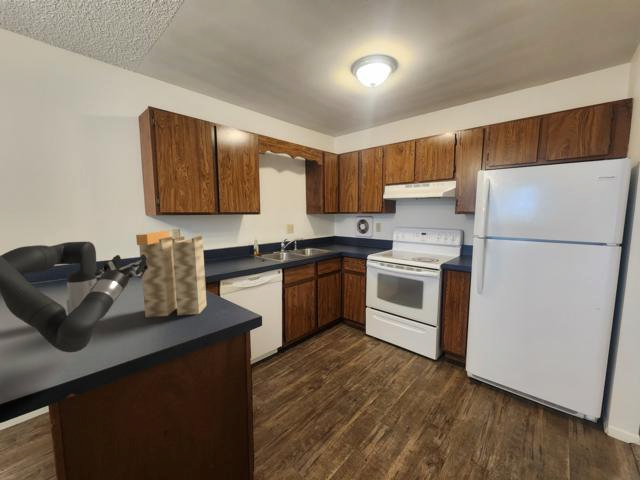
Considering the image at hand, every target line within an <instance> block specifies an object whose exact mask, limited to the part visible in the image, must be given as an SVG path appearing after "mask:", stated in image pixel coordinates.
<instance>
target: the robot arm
mask: <svg viewBox="0 0 640 480" xmlns="http://www.w3.org/2000/svg"><path fill="white" fill-rule="evenodd" d="M96 250H97V249H96V247H95V245H94V244H93V242H91V241H68V242H62V243H57V244H55V245H51V246H49V245H44V244H43V245H42V244H40V245H30V246H29V245H28V246H27V245H26V246H21V247H16V248H14V249H12V250H11V249H10V250H8V251H6V252H5V253H3V254H0V295H1V296H2V299H3V301H4V304H5V305H6V308H7V309H8V310H9V311H10V313H12V315H14V316H15V318H17V319H19V320H20V321H22V322H24V323H25V324H27V325H29V326H30V327H32V328H34V329H35V330H37V331H38V333H40V335H41V337H43V338H44V339H45V340H46V341H47V342H48V343H50V345H52V346H53V347H54V348H55V349H56V350H59V351H61V352H64V353H77V352H79V351H81V350H83V349H85V348H86V347H88V345H89V343H90V341H91V338H92V335H93V332H94V330H95V328H96V325H97V324H98V323H99V321H100V320H101V319H103V318H104V317H105V316H106V315H107V313H108V312H109V310H110V309H111V307H112V306H113V305H114V303H115V302H116V301H117V300H118V299H119V297H120V296H121V294H122V293H123V291H124V290H125V288H126V287H127V286H128V283H129V280H130V279H131V278H132V277H137V278H138V279H142V275H143V274H144V273H145V271H146V270H147V268H148V266H147V263H146V260H147V258H146V256H145V255H144V254H143V255H141V257H140V256H139V258H138V260H137V261H136V262H131V263H129V264H124V265H119V263H120V262H121V260H122V257H121V256H120V254H116V255H115V256H114V257H112V259H111V260H110V261H108V262H105V261H104V262H102V263H101V264H100V265H99V267H98V266H97V251H96ZM56 265H79V269H78V270H76V271H73V272H71V273H68V274H66V278H65V279H66V286H67V293H68V294H67V295H68V299H66V308H65V307H64V306H63V305H62V304H60V303H59V302H57V301H55V299H52V298H51V297H50V296H47V295H46V294H44V293H43V292H41V291H40V290H39V289H37V287H35V286H33V285H32V284H31V283H30V282H29V281H28V280H27V279H26V278H25V277H24V276H27V275H33V274H38V273H43V272H45V271H49V270H51V269H53V268H54V267H55V266H56ZM97 267H98V268H97ZM131 268H132V269H131ZM66 310H67V311H66Z"/></svg>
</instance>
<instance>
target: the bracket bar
mask: <svg viewBox="0 0 640 480" xmlns="http://www.w3.org/2000/svg"><path fill="white" fill-rule="evenodd" d="M167 237H171V233H170V231H169V230H163V231H162V230H160V231H159V230H158V231H155V232H154V231H153V232H147V233H141V234H140V233H139V234H136V235H135V238H136V245H137V246H139V245H149V244H153V243H158V242H159V239H163V238H167Z"/></svg>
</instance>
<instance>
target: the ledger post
mask: <svg viewBox="0 0 640 480" xmlns="http://www.w3.org/2000/svg"><path fill="white" fill-rule="evenodd" d="M203 242H204V241H203V235H201V236H200V235H198V236H196V237H191V239H185V236H179V237H175V238H173V239H172V248H173V262H174V275H175V288H176V302H177V308H176V312H177V314H176V315H177V316H188V315H189V316H191V315H199V314H201V312H202V311H204V309H205V308H206V307H207V289H206V275H205V274H206V273H205V271H206V270H205V257H204V256H205V255H204V243H203Z"/></svg>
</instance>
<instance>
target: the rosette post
mask: <svg viewBox="0 0 640 480" xmlns="http://www.w3.org/2000/svg"><path fill="white" fill-rule="evenodd" d="M172 239H174V238H173V236H170V237H167V238H163V239H159V242H158V243H153V244H149V245H138V247H139V248H138V249H139V258H140V257H141V255H143V254H144V255H145V256H146V258H147V260H146V263H147V266H148V268H147V270H146V271H145V273H144V274H143V275H142V277H141V281H142V282H141V283H142V292H143V293H142V294H143V301H144V302H143V305H144V313H145V314H144V315H145V318H153V317H155V318H157V317H169V316H170V315H171V314H172V313H173V312H174V311H175V310H177V302H176V288H175V275H174V262H173V248H172Z"/></svg>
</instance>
